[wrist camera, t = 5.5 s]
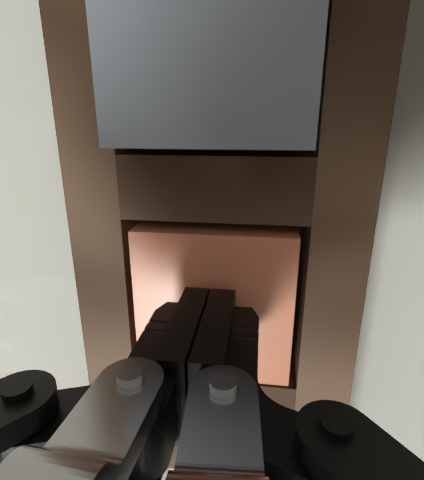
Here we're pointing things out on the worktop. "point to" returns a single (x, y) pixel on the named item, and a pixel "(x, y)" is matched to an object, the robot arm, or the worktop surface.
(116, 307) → the key console
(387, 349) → the worktop surface
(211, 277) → the terracotta key
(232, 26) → the slate key
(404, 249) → the worktop surface
